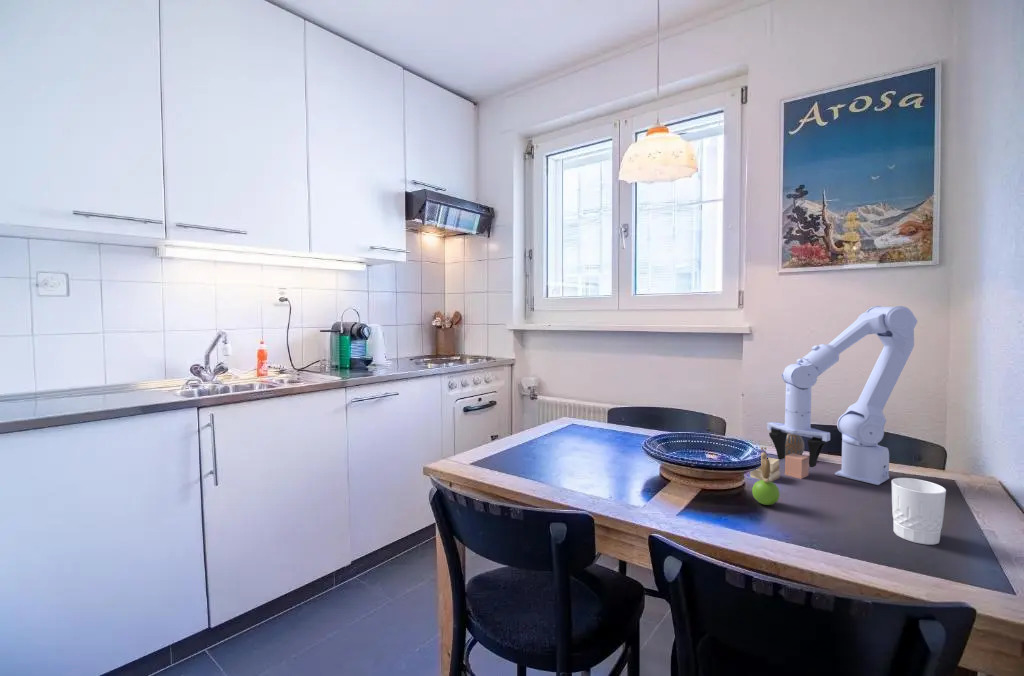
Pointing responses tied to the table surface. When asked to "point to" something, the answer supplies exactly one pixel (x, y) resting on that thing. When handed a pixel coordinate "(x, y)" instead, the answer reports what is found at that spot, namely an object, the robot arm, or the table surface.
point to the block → (797, 465)
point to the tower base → (758, 475)
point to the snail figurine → (765, 484)
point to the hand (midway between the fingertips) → (796, 462)
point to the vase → (794, 444)
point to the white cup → (918, 510)
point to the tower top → (772, 465)
